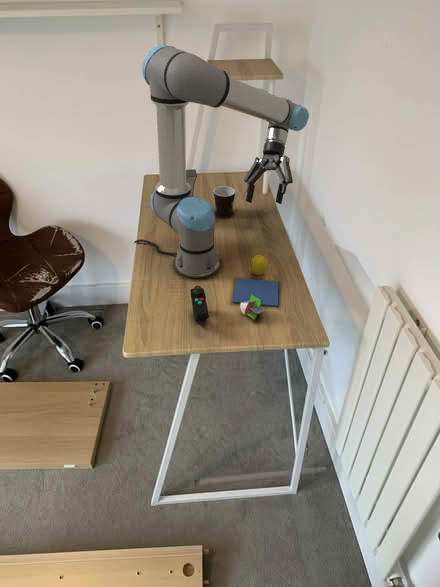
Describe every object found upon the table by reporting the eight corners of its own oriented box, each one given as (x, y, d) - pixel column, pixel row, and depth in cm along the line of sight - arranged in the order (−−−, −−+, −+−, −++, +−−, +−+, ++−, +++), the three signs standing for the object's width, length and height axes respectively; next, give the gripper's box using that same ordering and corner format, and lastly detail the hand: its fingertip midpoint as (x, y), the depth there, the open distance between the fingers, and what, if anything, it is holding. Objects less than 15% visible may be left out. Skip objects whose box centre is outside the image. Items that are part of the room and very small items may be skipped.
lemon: (248, 270, 149) (249, 250, 144) (264, 269, 149) (266, 250, 144) (250, 280, 145) (251, 260, 140) (267, 279, 145) (269, 260, 140)
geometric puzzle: (255, 296, 135) (246, 287, 129) (272, 306, 132) (264, 297, 125) (242, 315, 135) (232, 307, 128) (259, 326, 131) (250, 318, 125)
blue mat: (232, 303, 136) (232, 301, 136) (236, 279, 145) (236, 278, 145) (277, 306, 135) (277, 305, 134) (278, 282, 144) (278, 281, 144)
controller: (204, 306, 135) (203, 280, 128) (210, 334, 126) (210, 308, 119) (190, 307, 134) (189, 282, 128) (195, 335, 125) (194, 310, 119)
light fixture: (174, 233, 166) (170, 174, 150) (167, 211, 179) (162, 154, 163) (201, 230, 168) (200, 171, 153) (193, 208, 181) (191, 151, 165)
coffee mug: (226, 221, 174) (226, 198, 167) (209, 214, 178) (209, 192, 171) (242, 209, 181) (244, 187, 174) (226, 203, 185) (226, 181, 178)
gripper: (310, 145, 150) (297, 206, 151) (254, 149, 167) (243, 204, 168) (299, 137, 145) (285, 200, 145) (242, 142, 161) (230, 198, 162)
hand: (263, 202), depth 156 cm, fingers open, 13 cm apart
